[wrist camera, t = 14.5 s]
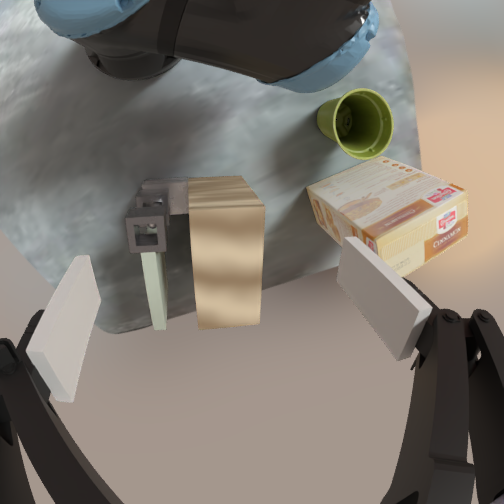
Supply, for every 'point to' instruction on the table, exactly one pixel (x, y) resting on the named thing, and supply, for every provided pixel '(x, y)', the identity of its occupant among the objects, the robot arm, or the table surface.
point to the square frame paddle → (152, 248)
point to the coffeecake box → (392, 211)
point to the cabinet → (221, 245)
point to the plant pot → (358, 123)
